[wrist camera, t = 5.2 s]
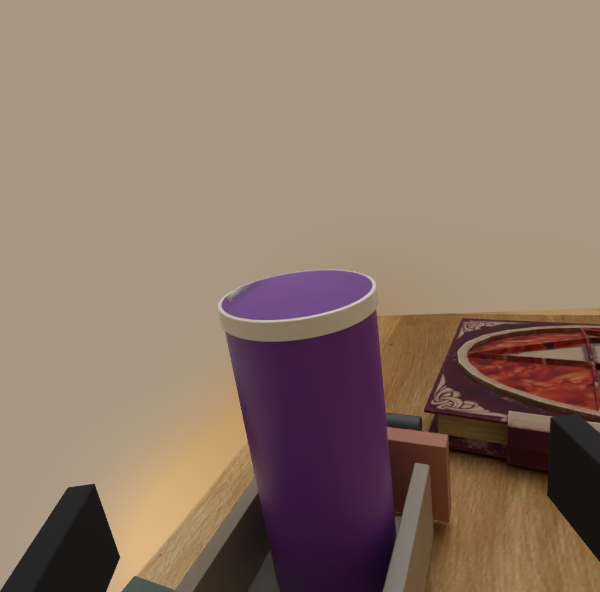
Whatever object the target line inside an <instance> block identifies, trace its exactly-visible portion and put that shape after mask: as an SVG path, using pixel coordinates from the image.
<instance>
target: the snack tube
mask: <svg viewBox="0 0 600 592" xmlns="http://www.w3.org/2000/svg"><path fill="white" fill-rule="evenodd" d="M377 305H378V298H377V287H376V283H375V281H374V280H373V279H372V278H371V277H369V276H367V275H365V274H361V273H358V272H353V271H346V270H310V271H301V272H293V273H287V274H281V275H277V276H272V277H268V278H264V279H261V280H257V281H254V282H252V283H249V284H246V285H244V286H241V287H239V288H237V289H235V290H233V291H232V292H230V293H228V294H227V295H226V296H224V297H223V298H222V299H221V301H220V302H219V304H218V311H219V316H220V320H221V325H222V327H223V329H224V330H225V333H226V337H227V342H228V347H229V352H230V357H231V362H232V367H233V371H234V376H235V381H236V386H237V390H238V395H239V400H240V405H241V410H242V414H243V419H244V424H245V429H246V433H247V439H248V444H249V449H250V453H251V458H252V463H253V468H254V473H255V477H256V482H257V487H258V492H259V497H260V502H261V506H262V511H263V516H264V521H265V526H266V531H267V535H268V540H269V545H270V550H271V555H272V559H273V564H274V569H275V574H276V579H277V582H278V585H279V588H280V590H281V592H383V588H384V584H385V580H386V576H387V572H388V568H389V564H390V560H391V556H392V552H393V548H394V544H395V540H396V536H397V534H396V522H395V511H394V500H393V489H392V478H391V467H390V456H389V445H388V434H387V423H386V412H385V401H384V390H383V379H382V368H381V357H380V346H379V335H378V324H377V313H376V307H377Z"/></svg>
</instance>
